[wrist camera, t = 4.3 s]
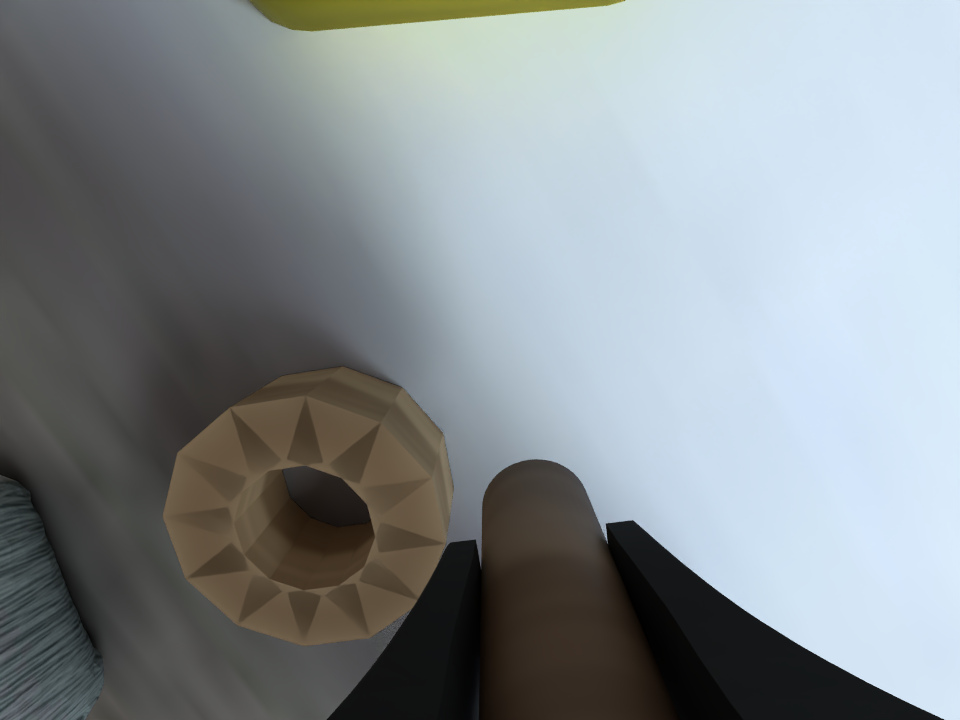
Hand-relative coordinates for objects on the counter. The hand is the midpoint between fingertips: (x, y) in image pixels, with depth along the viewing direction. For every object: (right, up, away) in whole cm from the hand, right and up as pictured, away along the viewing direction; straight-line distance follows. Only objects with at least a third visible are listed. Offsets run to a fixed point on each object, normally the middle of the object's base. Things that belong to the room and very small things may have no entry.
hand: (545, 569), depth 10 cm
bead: (-8, 0, +10) cm, 13 cm away
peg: (0, +1, +2) cm, 2 cm away
